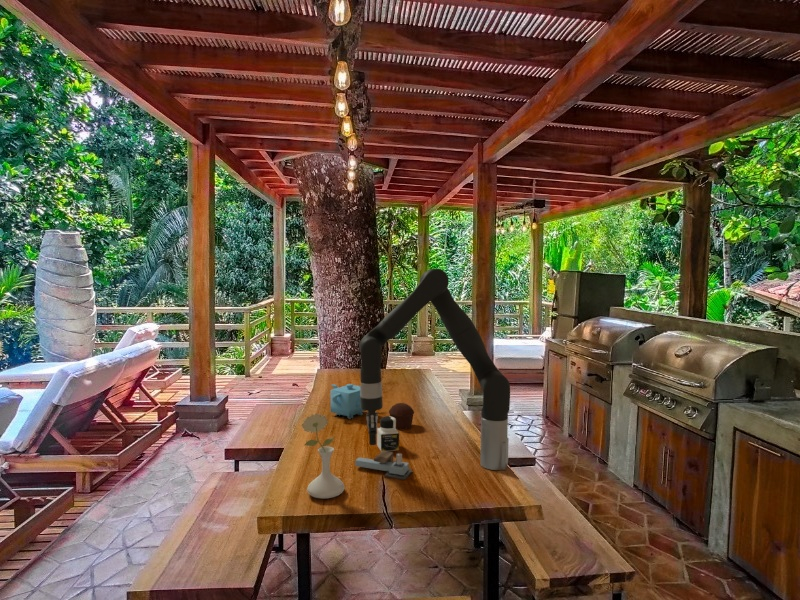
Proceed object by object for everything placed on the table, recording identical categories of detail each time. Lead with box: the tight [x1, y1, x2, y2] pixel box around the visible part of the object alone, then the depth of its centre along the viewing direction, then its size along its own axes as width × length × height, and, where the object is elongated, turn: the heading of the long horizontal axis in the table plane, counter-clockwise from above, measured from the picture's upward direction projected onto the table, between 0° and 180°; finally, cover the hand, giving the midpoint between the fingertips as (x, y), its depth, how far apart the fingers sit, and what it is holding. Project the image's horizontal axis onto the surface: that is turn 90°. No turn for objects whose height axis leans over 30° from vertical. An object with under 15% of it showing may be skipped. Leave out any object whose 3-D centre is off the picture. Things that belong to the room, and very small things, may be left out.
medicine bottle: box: [376, 415, 400, 453], centre depth 179 cm, size 7×7×12 cm
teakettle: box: [330, 383, 368, 420], centre depth 222 cm, size 19×19×15 cm
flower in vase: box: [301, 413, 345, 499], centre depth 142 cm, size 13×11×25 cm
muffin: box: [388, 402, 415, 430], centre depth 205 cm, size 12×11×10 cm
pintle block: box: [384, 452, 413, 481], centre depth 156 cm, size 7×7×7 cm
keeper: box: [373, 451, 394, 463], centre depth 159 cm, size 4×7×5 cm, turn 157°
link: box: [354, 456, 410, 475], centre depth 159 cm, size 18×5×2 cm, turn 70°
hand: (372, 444), depth 160 cm, fingers closed
